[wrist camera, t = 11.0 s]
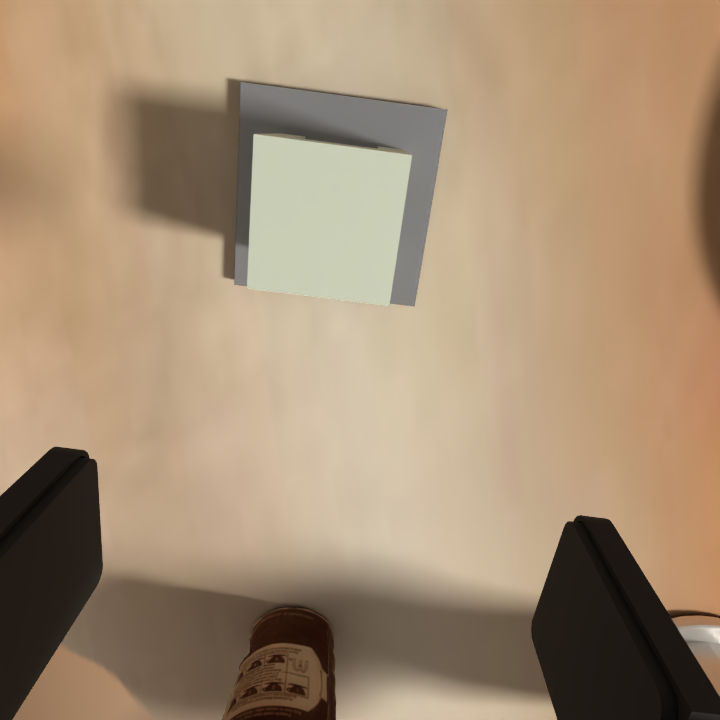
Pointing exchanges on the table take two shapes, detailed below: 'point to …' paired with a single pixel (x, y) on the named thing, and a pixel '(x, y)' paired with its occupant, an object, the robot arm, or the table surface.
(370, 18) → the table surface
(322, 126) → the felt pad
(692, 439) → the table surface
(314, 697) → the coffee cup
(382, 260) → the notched sage block
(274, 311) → the table surface
